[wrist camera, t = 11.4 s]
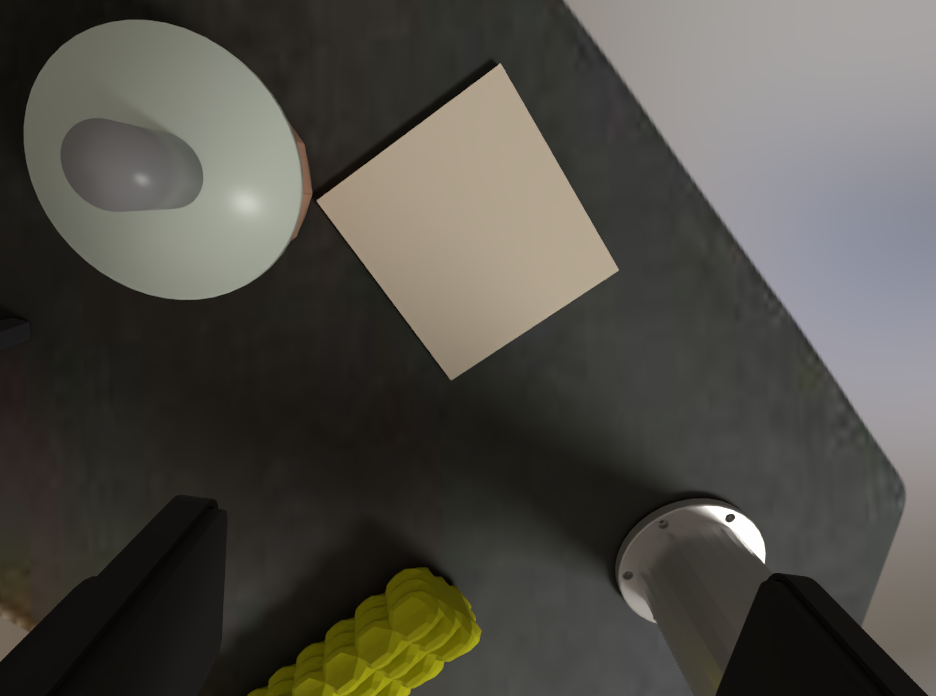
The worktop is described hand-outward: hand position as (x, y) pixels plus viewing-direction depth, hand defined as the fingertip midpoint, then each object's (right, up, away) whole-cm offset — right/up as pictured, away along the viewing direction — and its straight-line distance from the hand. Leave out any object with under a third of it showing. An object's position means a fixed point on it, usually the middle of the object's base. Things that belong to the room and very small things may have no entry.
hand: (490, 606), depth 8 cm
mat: (0, +12, +24) cm, 27 cm away
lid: (-15, +14, +16) cm, 26 cm away
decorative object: (-14, -24, +35) cm, 45 cm away
